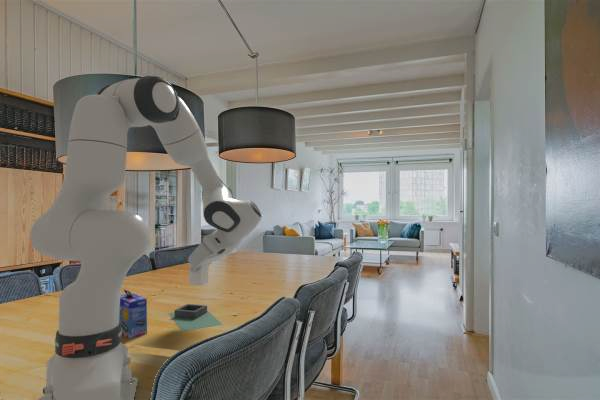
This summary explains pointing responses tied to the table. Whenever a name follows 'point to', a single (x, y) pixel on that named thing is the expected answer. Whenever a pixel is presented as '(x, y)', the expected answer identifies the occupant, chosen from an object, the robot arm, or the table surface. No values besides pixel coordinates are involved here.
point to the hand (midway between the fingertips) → (197, 269)
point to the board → (196, 323)
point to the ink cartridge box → (133, 315)
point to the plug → (198, 275)
